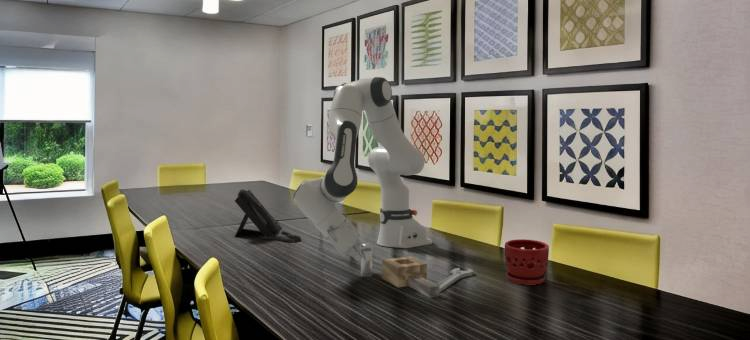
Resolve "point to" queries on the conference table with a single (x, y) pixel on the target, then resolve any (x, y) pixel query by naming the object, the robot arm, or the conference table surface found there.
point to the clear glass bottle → (366, 259)
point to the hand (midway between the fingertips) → (362, 255)
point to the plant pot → (526, 261)
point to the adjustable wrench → (454, 277)
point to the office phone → (260, 218)
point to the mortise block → (409, 275)
